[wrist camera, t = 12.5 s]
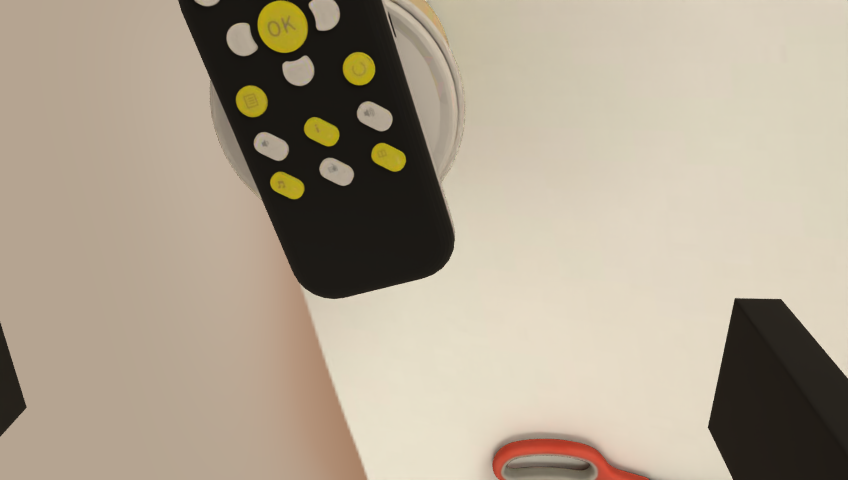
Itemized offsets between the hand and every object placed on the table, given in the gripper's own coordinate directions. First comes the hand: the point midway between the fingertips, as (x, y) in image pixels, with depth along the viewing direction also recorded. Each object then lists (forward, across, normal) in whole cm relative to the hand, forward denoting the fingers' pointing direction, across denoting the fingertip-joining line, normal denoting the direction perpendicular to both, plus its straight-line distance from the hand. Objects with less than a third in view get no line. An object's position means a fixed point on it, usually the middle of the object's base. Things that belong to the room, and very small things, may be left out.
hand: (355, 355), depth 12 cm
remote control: (+14, -3, +1) cm, 14 cm away
